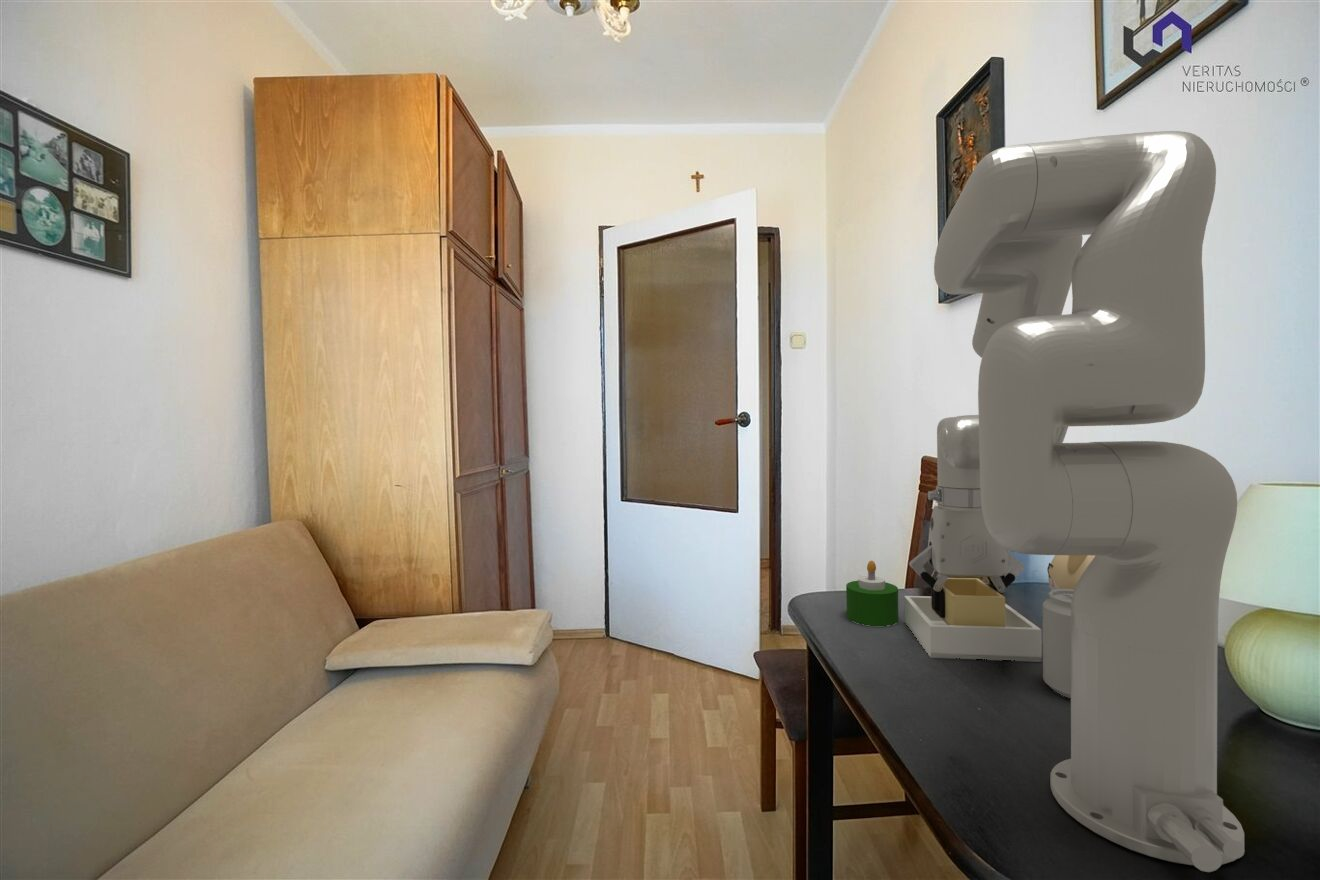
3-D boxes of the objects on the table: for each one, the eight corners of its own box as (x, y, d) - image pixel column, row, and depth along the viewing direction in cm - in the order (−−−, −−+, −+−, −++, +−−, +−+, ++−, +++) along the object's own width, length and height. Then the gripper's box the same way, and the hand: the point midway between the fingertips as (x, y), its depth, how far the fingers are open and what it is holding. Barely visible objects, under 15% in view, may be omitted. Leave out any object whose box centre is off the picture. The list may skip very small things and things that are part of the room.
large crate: (1041, 661, 80) (1041, 629, 80) (930, 657, 82) (930, 626, 82) (997, 625, 94) (997, 597, 94) (904, 622, 96) (903, 595, 96)
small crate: (1005, 632, 82) (1005, 597, 82) (952, 630, 83) (952, 596, 83) (978, 609, 92) (978, 578, 92) (931, 608, 93) (931, 577, 93)
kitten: (1087, 612, 99) (1086, 525, 99) (1155, 631, 90) (1155, 535, 89) (1025, 625, 94) (1025, 533, 93) (1091, 647, 84) (1091, 545, 84)
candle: (837, 619, 99) (836, 560, 99) (862, 607, 104) (861, 552, 104) (883, 631, 93) (882, 569, 92) (907, 618, 98) (906, 560, 98)
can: (1132, 709, 67) (1132, 605, 66) (1060, 704, 68) (1059, 603, 68) (1097, 680, 74) (1097, 587, 74) (1032, 676, 75) (1031, 585, 75)
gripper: (911, 502, 85) (912, 622, 85) (1040, 501, 82) (1041, 626, 83) (898, 495, 92) (899, 606, 93) (1016, 495, 90) (1017, 609, 90)
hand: (966, 614), depth 88 cm, fingers closed on small crate, 6 cm apart
